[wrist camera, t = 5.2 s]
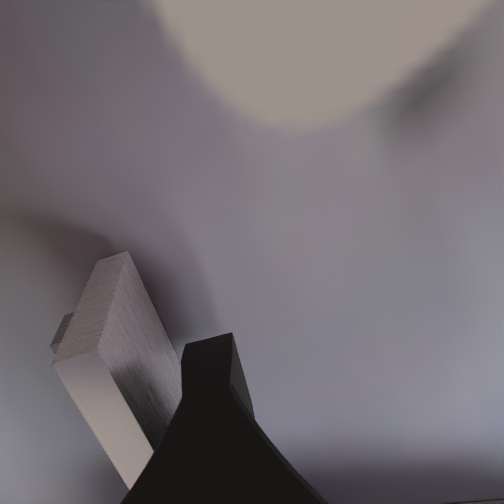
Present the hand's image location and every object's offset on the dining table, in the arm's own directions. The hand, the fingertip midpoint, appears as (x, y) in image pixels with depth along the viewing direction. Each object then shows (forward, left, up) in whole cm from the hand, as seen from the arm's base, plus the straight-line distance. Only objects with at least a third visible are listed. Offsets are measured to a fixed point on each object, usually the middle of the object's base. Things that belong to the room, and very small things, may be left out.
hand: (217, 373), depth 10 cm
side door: (+1, +2, -1) cm, 2 cm away
